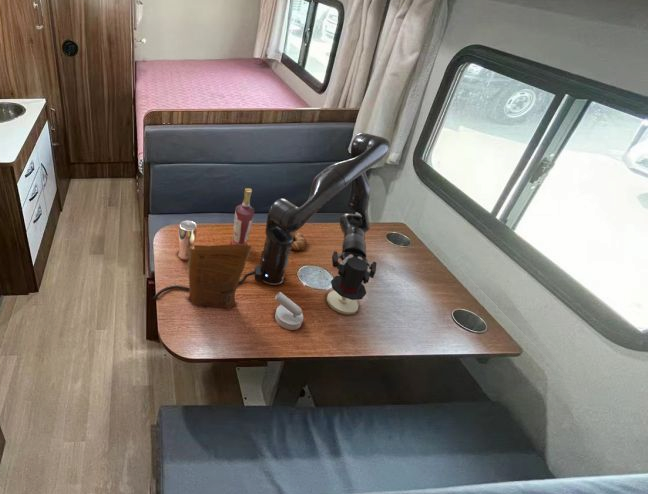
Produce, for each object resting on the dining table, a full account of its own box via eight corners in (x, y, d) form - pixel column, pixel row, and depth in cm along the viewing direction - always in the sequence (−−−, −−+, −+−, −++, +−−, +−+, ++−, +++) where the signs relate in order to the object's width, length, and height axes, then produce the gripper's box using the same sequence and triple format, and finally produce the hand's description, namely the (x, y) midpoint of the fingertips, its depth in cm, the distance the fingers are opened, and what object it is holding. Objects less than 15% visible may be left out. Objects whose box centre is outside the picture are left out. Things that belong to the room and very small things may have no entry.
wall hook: (280, 283, 132) (310, 296, 128) (275, 303, 137) (304, 315, 133) (272, 300, 126) (304, 313, 121) (267, 320, 131) (298, 334, 126)
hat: (334, 297, 130) (343, 273, 124) (328, 274, 139) (336, 250, 134) (369, 302, 128) (379, 278, 123) (360, 278, 138) (370, 254, 132)
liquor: (249, 252, 160) (260, 195, 145) (231, 252, 160) (240, 195, 145) (245, 241, 166) (255, 185, 152) (228, 240, 166) (237, 184, 152)
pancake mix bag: (240, 314, 133) (252, 251, 118) (184, 308, 135) (189, 245, 120) (238, 298, 139) (250, 237, 124) (184, 293, 141) (190, 232, 126)
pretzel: (291, 255, 159) (293, 248, 157) (271, 240, 167) (273, 233, 165) (311, 246, 164) (313, 239, 162) (291, 232, 172) (293, 225, 170)
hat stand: (329, 311, 134) (344, 273, 125) (324, 290, 143) (337, 252, 133) (360, 316, 133) (377, 278, 123) (353, 295, 141) (369, 257, 132)
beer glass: (197, 253, 159) (200, 223, 151) (189, 263, 154) (192, 233, 146) (182, 247, 162) (184, 218, 154) (174, 256, 157) (175, 227, 149)
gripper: (335, 234, 142) (332, 263, 129) (379, 245, 137) (381, 277, 124) (330, 250, 146) (327, 279, 133) (372, 261, 141) (374, 293, 128)
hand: (353, 278), depth 129 cm, fingers closed on hat, 6 cm apart
